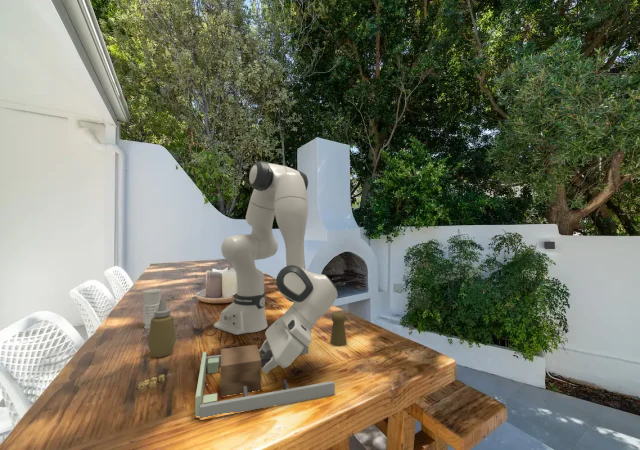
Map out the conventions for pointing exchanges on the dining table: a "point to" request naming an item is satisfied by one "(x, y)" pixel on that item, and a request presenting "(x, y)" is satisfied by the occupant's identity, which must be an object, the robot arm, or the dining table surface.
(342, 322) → the olive pawn
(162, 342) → the squeeze bottle
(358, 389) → the dining table surface
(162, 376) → the dice set
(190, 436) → the dining table surface
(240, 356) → the walnut block
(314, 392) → the grey u-shaped frame
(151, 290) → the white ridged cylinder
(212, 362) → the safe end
